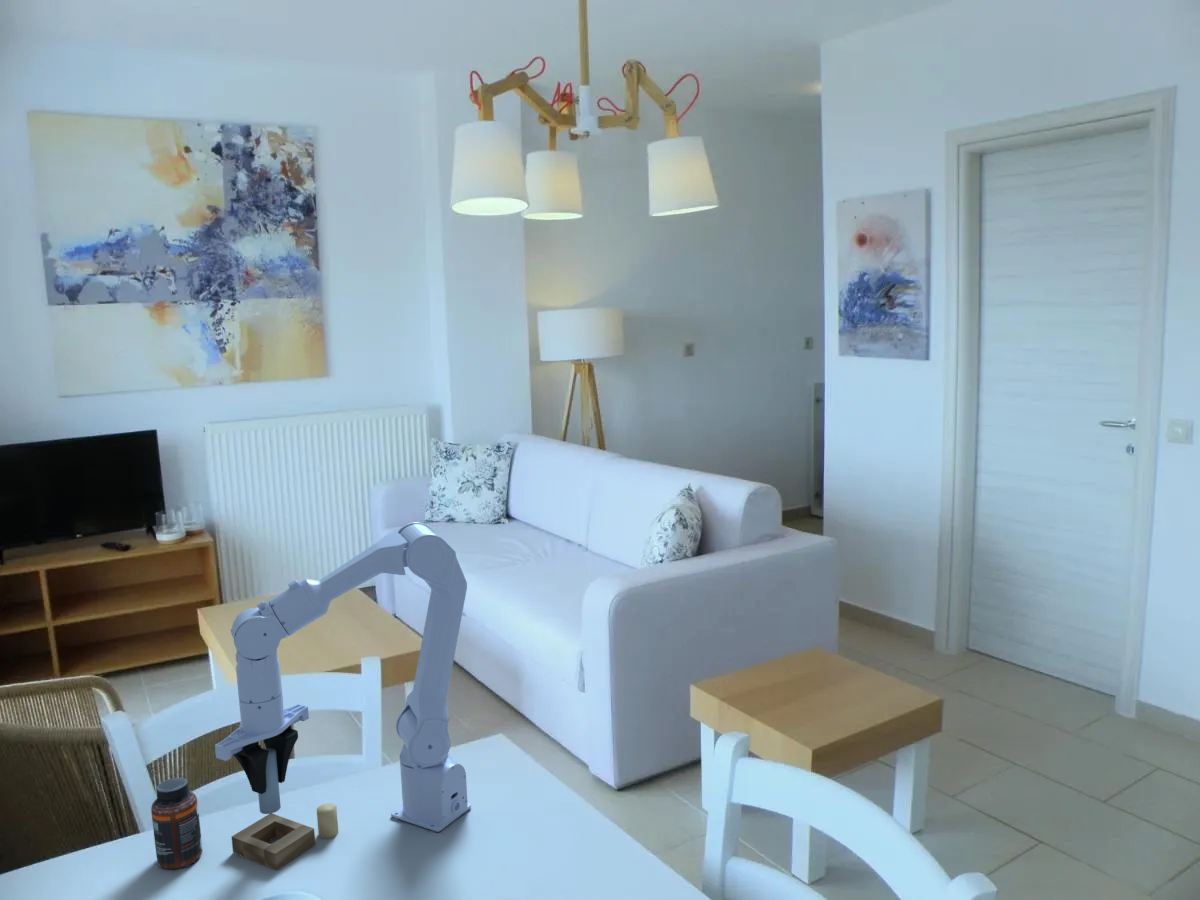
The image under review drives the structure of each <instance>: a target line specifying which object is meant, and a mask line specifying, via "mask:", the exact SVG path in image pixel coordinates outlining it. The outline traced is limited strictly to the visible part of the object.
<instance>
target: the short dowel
mask: <svg viewBox="0 0 1200 900" xmlns="http://www.w3.org/2000/svg"><path fill="white" fill-rule="evenodd" d="M337 807H338V806H337V805H336V804H335V803H330V802H329V803H324V804H321V805H319V806H318V807H317V808H316V817H317V818H316V819H317V821H316V822H317V831H318V837H319V839H322V840H329V838H330V839H333V838H335V837H337V836H338V835H339V823H338V822H339V821H338V809H337Z"/></svg>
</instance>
